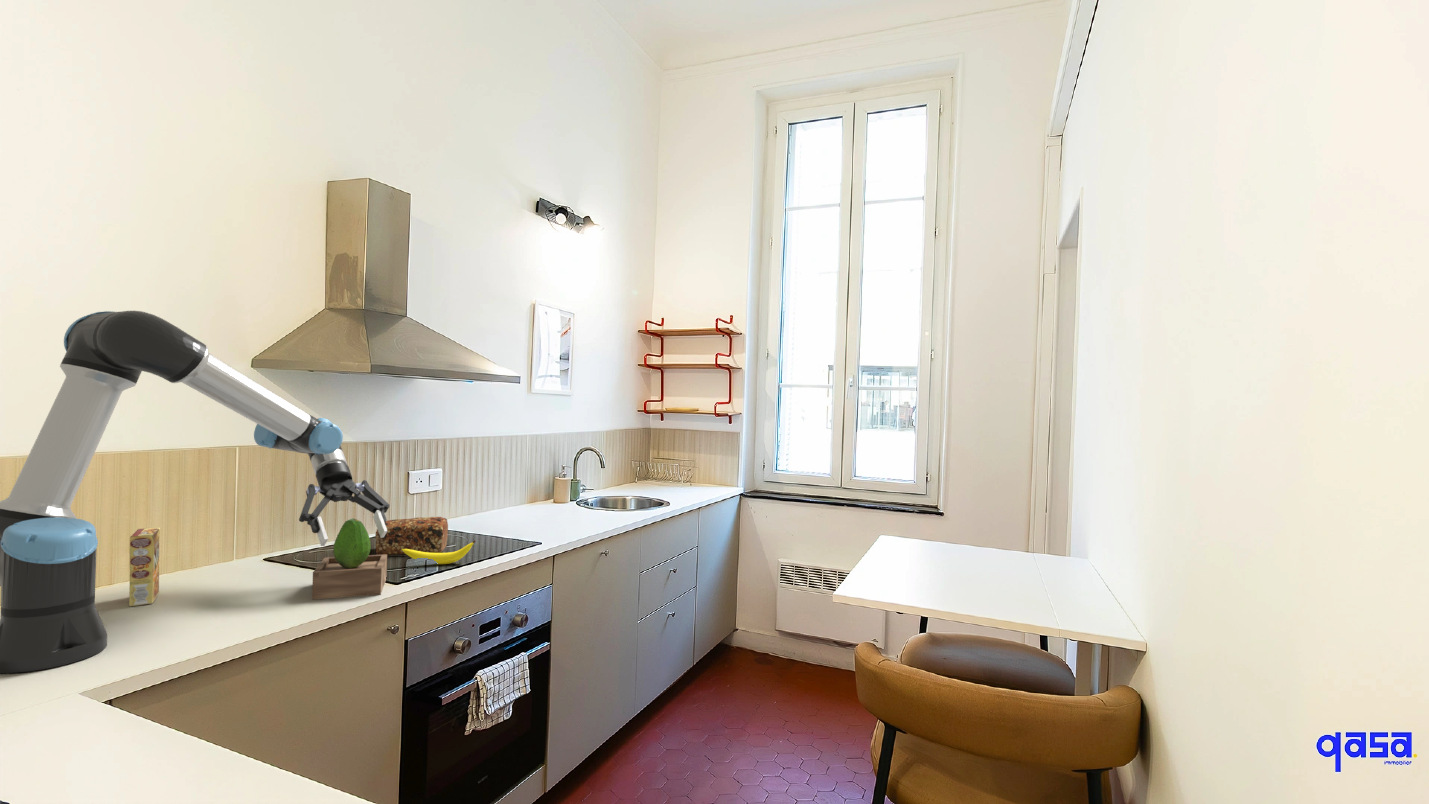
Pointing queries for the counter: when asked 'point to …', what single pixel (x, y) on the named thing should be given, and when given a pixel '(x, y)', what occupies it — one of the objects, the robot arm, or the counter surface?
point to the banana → (440, 555)
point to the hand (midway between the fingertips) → (355, 538)
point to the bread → (413, 535)
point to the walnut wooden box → (349, 578)
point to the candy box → (144, 566)
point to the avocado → (352, 544)
